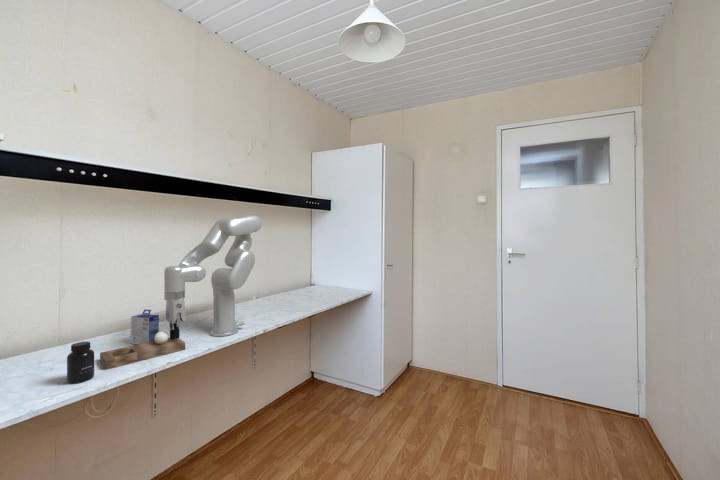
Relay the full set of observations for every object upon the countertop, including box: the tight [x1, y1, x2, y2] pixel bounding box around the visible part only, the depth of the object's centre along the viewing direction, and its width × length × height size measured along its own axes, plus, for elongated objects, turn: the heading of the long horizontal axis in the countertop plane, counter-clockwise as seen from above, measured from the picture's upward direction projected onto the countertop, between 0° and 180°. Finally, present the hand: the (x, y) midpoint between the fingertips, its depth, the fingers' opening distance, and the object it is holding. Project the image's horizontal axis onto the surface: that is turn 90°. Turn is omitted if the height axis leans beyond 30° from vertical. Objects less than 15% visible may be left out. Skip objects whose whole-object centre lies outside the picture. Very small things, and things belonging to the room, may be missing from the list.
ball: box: [154, 330, 170, 344], centre depth 129 cm, size 5×5×5 cm
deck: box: [99, 336, 186, 371], centre depth 125 cm, size 26×12×3 cm, turn 138°
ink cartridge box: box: [130, 309, 160, 345], centre depth 138 cm, size 10×6×14 cm, turn 78°
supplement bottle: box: [66, 341, 95, 385], centre depth 104 cm, size 7×7×12 cm
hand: (174, 338), depth 133 cm, fingers closed
